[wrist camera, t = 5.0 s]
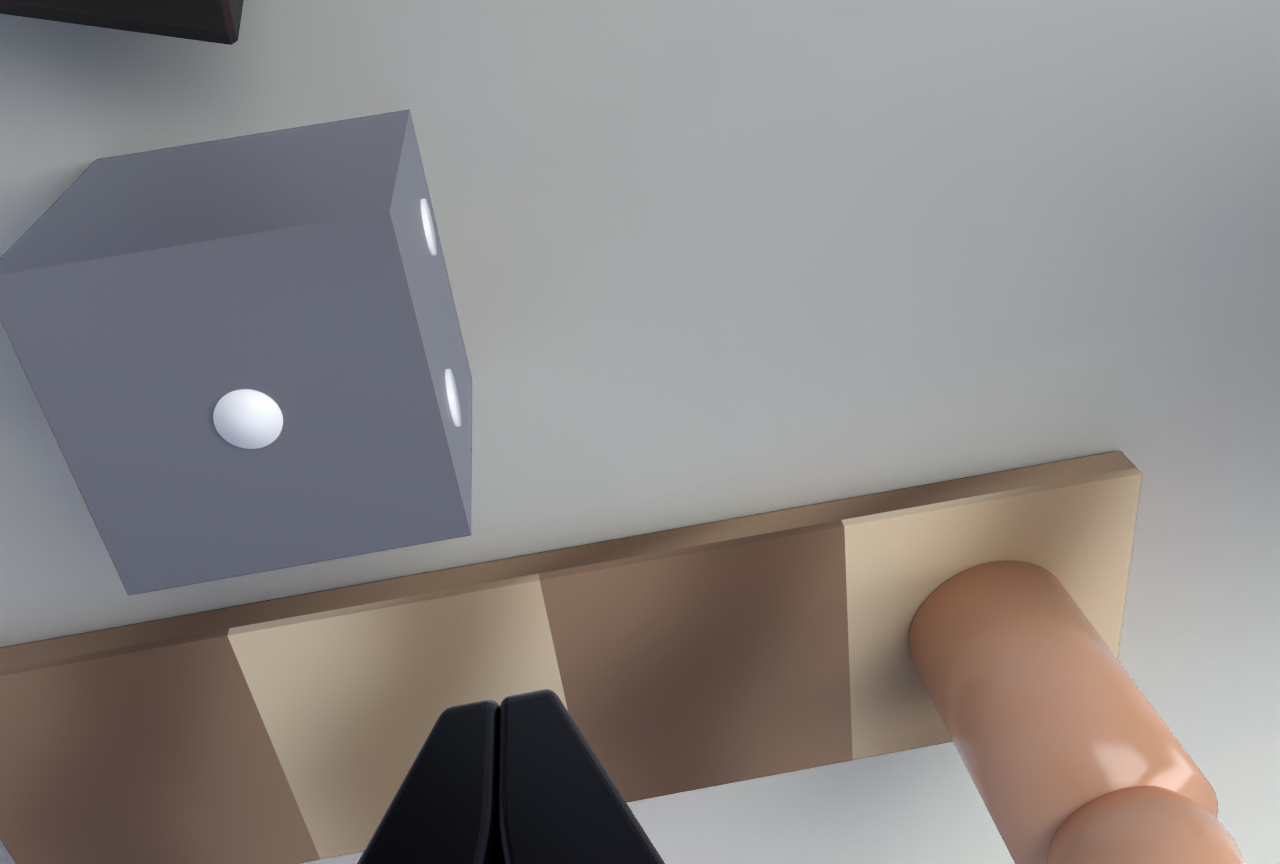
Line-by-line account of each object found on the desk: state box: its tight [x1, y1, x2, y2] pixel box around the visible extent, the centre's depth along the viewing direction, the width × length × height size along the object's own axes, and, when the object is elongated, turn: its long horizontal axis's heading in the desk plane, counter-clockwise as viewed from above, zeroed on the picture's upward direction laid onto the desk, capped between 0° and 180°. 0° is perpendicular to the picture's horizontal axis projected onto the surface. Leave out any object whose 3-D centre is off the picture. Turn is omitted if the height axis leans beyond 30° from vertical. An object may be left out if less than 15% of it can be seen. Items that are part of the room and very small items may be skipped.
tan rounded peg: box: [908, 561, 1246, 864], centre depth 19 cm, size 3×3×7 cm
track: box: [0, 451, 1142, 864], centre depth 22 cm, size 22×6×1 cm, turn 97°
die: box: [0, 110, 472, 595], centre depth 15 cm, size 5×4×4 cm
